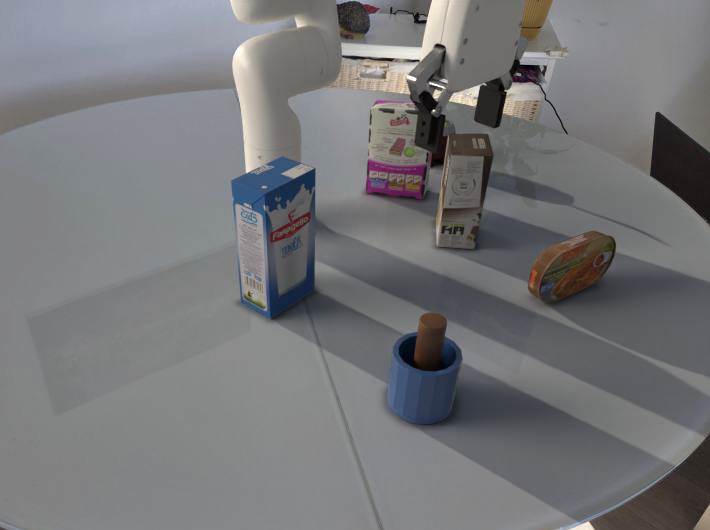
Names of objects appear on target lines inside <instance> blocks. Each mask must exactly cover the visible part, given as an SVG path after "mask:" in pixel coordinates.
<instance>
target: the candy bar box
mask: <svg viewBox="0 0 710 530" xmlns="http://www.w3.org/2000/svg"><path fill="white" fill-rule="evenodd" d="M414 105H415V104H414V103H413V102H412V101H401V100H400V101H399V100H385V99H384V100H383V99H376V100H375V102H374V104H373V105H372V106H371V107H370V109H369V128H368V145H367V146H368V147H367V164H366V180H365V193H366V194H370V195H371V194H372V195H379V196H388V197H395V198H405V199H413V200H424V198H425V196H426V193H427V191H428V188H429V181H430V173H431V167H430V165H431V156H432V152H430V151H427V150H425V149H423V148H420V147H418V146H416V145H415V143H414V141H415V133H416V125H417V117H418V110H416V109H415V107H414Z"/></svg>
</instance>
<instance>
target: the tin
mask: <svg viewBox="0 0 710 530" xmlns="http://www.w3.org/2000/svg"><path fill="white" fill-rule="evenodd" d="M616 251H617V242H616V239H615V238H614V237H613V236H611V235H608V234H605V233H602V232H599V231H598V230H589V231H586V232H583V233H581V234H578V235H575V236H574V237H571V238H569V239H568V238H567V239H566V240H563V241H561V242H558V243H555V244H553V245H551V246H549V247H547V248H546V249H545V250H543V251H542V252H541V253H540V254H539V255H538V257H536V259H535V260H534V262H533V263H532V265H531V267H530V271H529V275H528V280H527V290H528V292H529V293H530V294H531V296H533V297H535V298H537V299H539V300H540V301H541V302H542V303H545V304H553V303H556V302H558V301H560V300H562V299H565V298H567V297H570V296H571V295H574V294H576V293H579V292H581V291H584V290H585V289H588V288H590V287H591V286H593V285H595V284H597V283H598V282H599V281H600V280H601V279H602V278H603V277H604V275H605V274H606V273H607V271H608V270H609V269H610V268H611V267H610V266H611V265H612V263H613V260H614V258H615V257H616V256H615V255H616Z"/></svg>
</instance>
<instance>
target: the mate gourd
mask: <svg viewBox="0 0 710 530" xmlns="http://www.w3.org/2000/svg"><path fill="white" fill-rule="evenodd" d="M448 134H457V133H456V127H455V124H454V123H453V121H451V120H450V119H447V118H446V119H445V125H444V132H443V138H442V145H441V150H440V151H439V152H437V153H432V156H431V165H430V168H432V167H433V165H434V164H435V163H436V164H442V165H444V161H445V154H446V147H447V140H448Z"/></svg>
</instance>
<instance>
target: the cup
mask: <svg viewBox="0 0 710 530" xmlns="http://www.w3.org/2000/svg"><path fill="white" fill-rule="evenodd" d="M417 333H418V331H413V332H409V333H406V334H403V335H402V336H401V337H399V338H398V339H397V340H396V341H395V342H394V344H393V345H392V352H391V360H390V367H389V368H390V369H389V377H388V386H387V397H386V398H387V404H388V407H389V409H390V411H392V413H394V415H396V416H397V417H398V418H400V419H401V420H404V421H405V422H408V423H411V424H415V425H433V424H436V423H440V422H442V421H443V420H445V419H446V418H447V417H449V415H450V413H451V412H452V410H453V405H454V403H455V398H456V393H457V390H458V389H457V388H458V384H459V378H460V374H461V369H462V365H463V360H464V359H463V352H462V349H461V348H460V347H459V345H458V344H457V343H456V342H455V341H454V340H452V338H449V337H448V336H446V335H445V338H444V344H443V349H442V355H441V361H440V366H439V371H435V372H434V371H422V370H419V369H416V368H413V361H414V354H415V347H416V340H417Z"/></svg>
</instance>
